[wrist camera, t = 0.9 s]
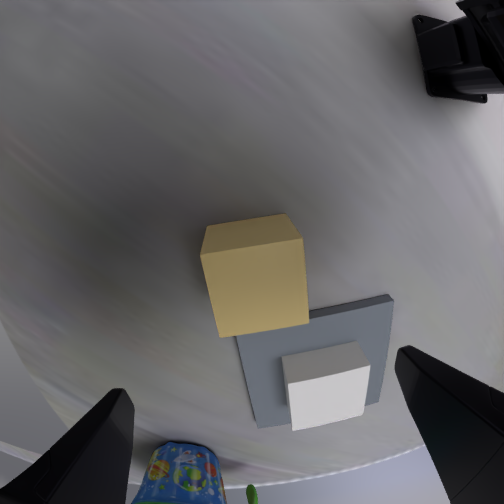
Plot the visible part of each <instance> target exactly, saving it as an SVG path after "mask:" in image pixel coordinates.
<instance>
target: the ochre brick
mask: <svg viewBox="0 0 504 504" xmlns="http://www.w3.org/2000/svg"><path fill="white" fill-rule="evenodd" d="M200 257H201V261H202V266H203V270H204V275H205V279H206V283H207V288H208V292H209V296H210V300H211V304H212V308H213V312H214V316H215V320H216V324H217V328H218V332H219V336H220V338H222V337H229V336H236V335H243V334H250V333H256V332H262V331H269V330H275V329H280V328H286V327H292V326H297V325H302V324H308V323H309V309H308V294H307V280H306V267H305V255H304V244H303V237H302V236H301V235H300V233H299V232H298V230H297V229H296V227H295V226H294V225H293V223H292V222H291V220H290V219H289V217H288V216H287V215H286V213H284V214H278V215H271V216H265V217H258V218H252V219H246V220H239V221H233V222H227V223H221V224H215V225H209V226H207V228H206V232H205V236H204V240H203V244H202V248H201V253H200Z"/></svg>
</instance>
